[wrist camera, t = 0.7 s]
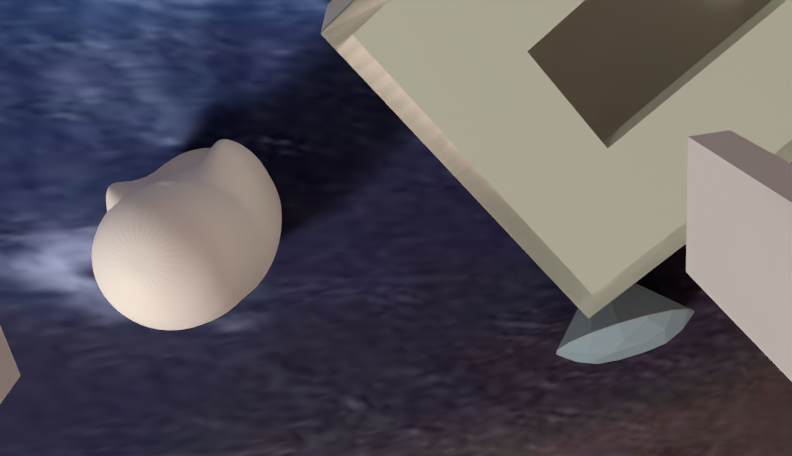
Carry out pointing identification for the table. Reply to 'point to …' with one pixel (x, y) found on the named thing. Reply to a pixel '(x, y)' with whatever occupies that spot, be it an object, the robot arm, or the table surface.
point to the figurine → (188, 237)
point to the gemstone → (624, 327)
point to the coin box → (577, 111)
